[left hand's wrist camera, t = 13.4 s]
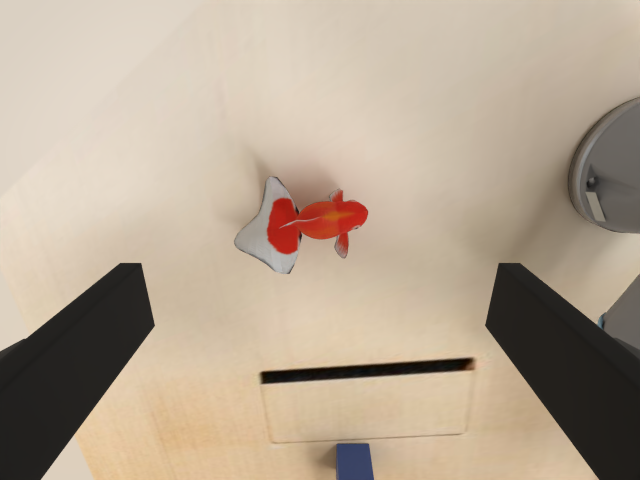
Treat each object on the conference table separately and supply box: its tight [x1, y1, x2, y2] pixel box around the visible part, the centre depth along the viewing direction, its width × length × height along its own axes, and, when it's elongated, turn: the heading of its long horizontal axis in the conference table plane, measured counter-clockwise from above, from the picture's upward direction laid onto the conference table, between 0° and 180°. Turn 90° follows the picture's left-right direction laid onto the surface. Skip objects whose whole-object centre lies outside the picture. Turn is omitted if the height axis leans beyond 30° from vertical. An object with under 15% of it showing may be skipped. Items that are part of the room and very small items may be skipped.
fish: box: [234, 177, 368, 274], centre depth 38 cm, size 11×16×10 cm
